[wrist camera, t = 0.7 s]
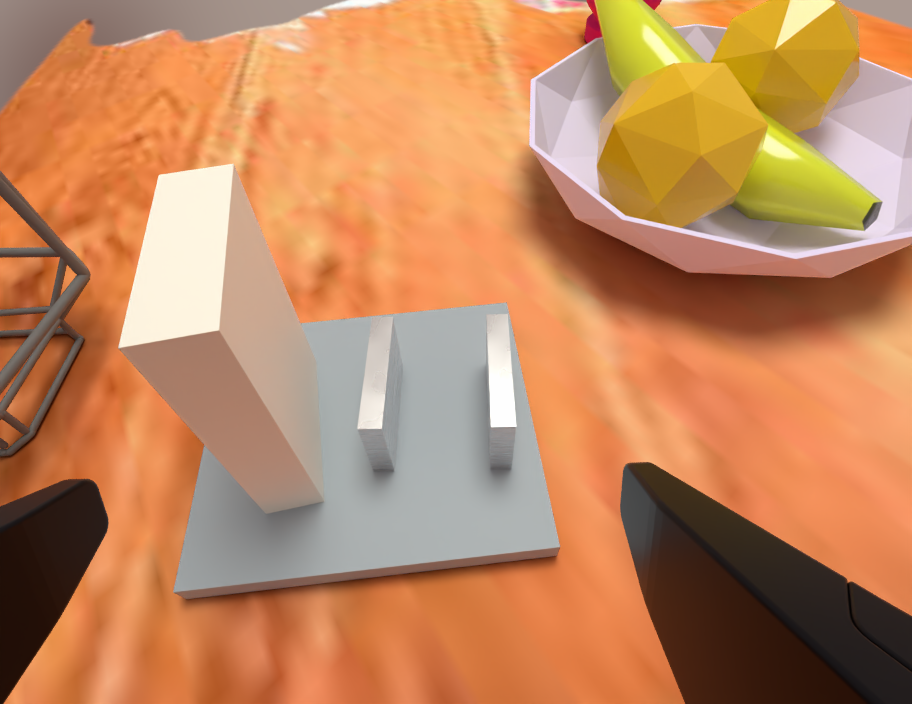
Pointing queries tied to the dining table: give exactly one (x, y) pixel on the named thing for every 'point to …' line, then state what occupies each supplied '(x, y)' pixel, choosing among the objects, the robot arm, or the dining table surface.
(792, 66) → the fruit bowl
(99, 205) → the dining table surface
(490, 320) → the hinge clip
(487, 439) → the board
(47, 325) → the geometric lantern
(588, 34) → the pepper mill
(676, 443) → the dining table surface
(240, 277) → the cream rectangular block
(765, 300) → the dining table surface
